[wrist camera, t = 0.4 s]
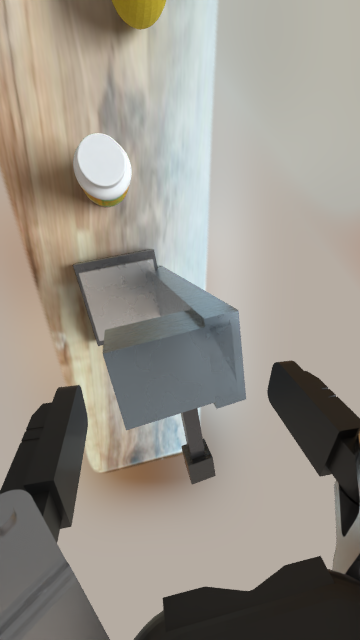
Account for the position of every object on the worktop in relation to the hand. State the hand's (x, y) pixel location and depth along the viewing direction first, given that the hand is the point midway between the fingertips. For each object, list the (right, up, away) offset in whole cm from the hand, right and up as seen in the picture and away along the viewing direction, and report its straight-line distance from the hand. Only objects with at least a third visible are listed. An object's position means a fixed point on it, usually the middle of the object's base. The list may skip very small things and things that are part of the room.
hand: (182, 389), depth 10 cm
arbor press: (-7, +5, +25) cm, 27 cm away
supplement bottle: (-9, +19, +20) cm, 29 cm away
